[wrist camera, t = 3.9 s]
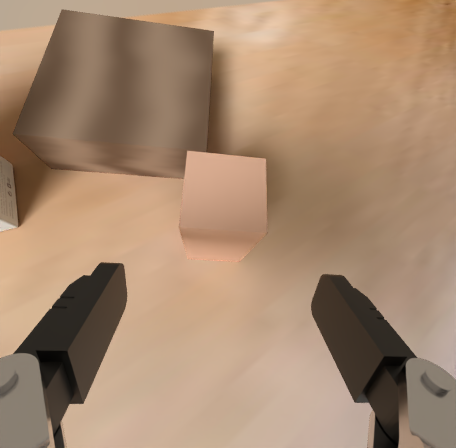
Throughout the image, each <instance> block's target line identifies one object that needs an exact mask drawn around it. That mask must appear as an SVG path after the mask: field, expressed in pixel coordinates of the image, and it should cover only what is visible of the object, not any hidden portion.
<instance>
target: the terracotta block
mask: <svg viewBox="0 0 456 448" xmlns="http://www.w3.org/2000/svg"><path fill="white" fill-rule="evenodd" d="M179 229H180V233H181V236H182V240H183V244H184V247H185V251H186V254H187V258H188V259H197V260H215V261H233V262H240V261H241V260H242V259H243V258H244V257H245V255H246V254H247V253H248V252H249V251H250V250H251V249H252V248H253V247H254V246H255V245H256V244H257V243H258V242H259V241H260V240H261V239H262V238H263V237H264V236H265V235H266V234H267V186H266V159H265V158H255V157H245V156H235V155H225V154H216V153H206V152H196V151H187V158H186V167H185V176H184V185H183V194H182V204H181V213H180V222H179Z"/></svg>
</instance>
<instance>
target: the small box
mask: <svg viewBox="0 0 456 448" xmlns="http://www.w3.org/2000/svg"><path fill="white" fill-rule="evenodd" d="M17 227H18V215H17V205H16V194H15V183H14V174H13V166H12V164H11V163H10V162H8V161H7V160H6V159H4V158H3V157H1V156H0V232H1V231H5V230H9V229H13V228H17Z"/></svg>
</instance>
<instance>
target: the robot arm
mask: <svg viewBox="0 0 456 448" xmlns="http://www.w3.org/2000/svg"><path fill="white" fill-rule="evenodd" d="M126 302H127V288H126V279H125V270H124V265H123V264H122V263H104V262H101V263H100V264H99V265H98V266H97V267H96V269H95V270H94V271H93V273H92V274H91V276H87V275H83V276H82V277H80V278H79V279H77V280H76V281H75V282H73V283H72V284H70V285H69V286H68V287H67V289H66V290H65V291H64V292H63V294H62V295H61V296H60V299H58V300H57V301H56V302H55V303H54V305H53V306H52V309H50V310H49V311H48V312H47V313H46V314H45V316H44V317H43V318H42V319H41V321H40V322H39V323H38V324H37V325H36V327H35V328H34V329H33V330H32V332H31V333H30V334H29V335H28V337H27V338H26V339H25V340H24V341H23V343H22V344H21V345H20V346H19V348H18V349H17V350H16V351H15V352H14V353H13V354H12V355H8V356H5V357H2V358H0V448H67V444H66V439H65V434H64V429H63V423H62V418H63V416H64V414H65V412H66V410H67V408H68V406H69V404H83V403H84V401H85V399H86V396H87V394H88V392H89V390H90V387H91V385H92V383H93V381H94V378H95V376H96V374H97V371H98V369H99V367H100V365H101V362H102V360H103V358H104V356H105V353H106V351H107V349H108V346H109V344H110V342H111V340H112V337H113V335H114V333H115V330H116V328H117V326H118V324H119V321H120V319H121V317H122V315H123V312H124V310H125V307H126ZM376 309H377V308H376V307H375V306H374V305H373V304H372V302H371V301H370V300H369V299H368V297H366V296H365V295H364V294H362V293H361V292H360V291H358V290H357V289H356V288H353V287H352V286H351V284H350V283H349V282H348V281H347V279H346V278H345V277H344V276H342V275H329V274H323V275H322V276H321V278H320V280H319V283H318V286H317V288H316V291H315V294H314V297H313V300H312V304H311V310H312V315H313V318H314V320H315V322H316V324H317V326H318V328H319V330H320V332H321V334H322V336H323V338H324V340H325V342H326V344H327V346H328V348H329V351H330V353H331V355H332V357H333V359H334V361H335V363H336V365H337V367H338V369H339V371H340V373H341V375H342V377H343V379H344V381H345V383H346V386H347V388H348V390H349V392H350V394H351V396H352V398H353V400H354V402H355V403H370V405H371V407H372V409H373V410H372V412H371V414H370V418H369V431H368V443H367V448H456V380H455V379H454V378H453V377H452V376H451V375H450V374H449V373H448V372H446V371H445V370H444V369H442V368H441V367H439V366H438V365H436V364H434V363H432V362H430V361H427V360H424V359H421V358H417V357H416V356H415V354H414V353H413V352H412V351H411V350H410V348H409V347H408V346H407V345H406V344H405V342H404V341H403V340H402V339H401V337H400V336H399V335H398V334H397V333H396V331H395V330H394V329H393V328H392V327H391V325H390V324H389V323H388V322H387V320H384V317H383V316H382V314H381V313H380V312H379V311H377V310H376Z"/></svg>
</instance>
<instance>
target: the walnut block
mask: <svg viewBox="0 0 456 448" xmlns="http://www.w3.org/2000/svg"><path fill="white" fill-rule="evenodd" d="M213 36H214V31H209V30H202V29H195V28H188V27H181V26H174V25H167V24H160V23H153V22H146V21H139V20H132V19H125V18H118V17H110V16H103V15H97V14H90V13H83V12H76V11H69V10H62V11H61V13H60V16H59V18H58V21H57V23H56V26H55V28H54V31H53V33H52V36H51V38H50V41H49V44H48V46H47V49H46V51H45V54H44V56H43V59H42V61H41V64H40V66H39V69H38V71H37V74H36V76H35V79H34V81H33V84H32V87H31V89H30V92H29V94H28V97H27V99H26V102H25V104H24V107H23V109H22V112H21V114H20V117H19V119H18V122H17V124H16V127H15V130H14V132H13V135H14V136H16V137H17V138H18V139H19V140H20V141H21V142H22V143H23V144H25V145H26V146H27V147H28V148H29V149H30V150H31V151H32V152H33V153H35V154H36V155H37V156H38V157H39V158H40V159H41V160H42V161H43V162H45V163H46V164H47V165H48V166H49V167H50V168H51V169H61V170H74V171H87V172H100V173H113V174H126V175H139V176H152V177H165V178H178V179H184V176H185V167H186V158H187V151H196V152H206V153H207V141H208V125H209V108H210V92H211V75H212V56H213Z"/></svg>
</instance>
